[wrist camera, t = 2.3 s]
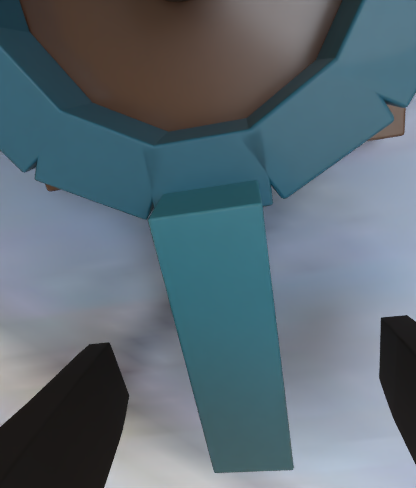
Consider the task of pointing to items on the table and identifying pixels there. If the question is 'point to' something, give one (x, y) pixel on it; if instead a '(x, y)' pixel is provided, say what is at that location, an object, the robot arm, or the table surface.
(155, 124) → the ring stand
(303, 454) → the table surface
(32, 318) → the table surface
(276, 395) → the ring
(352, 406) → the table surface
